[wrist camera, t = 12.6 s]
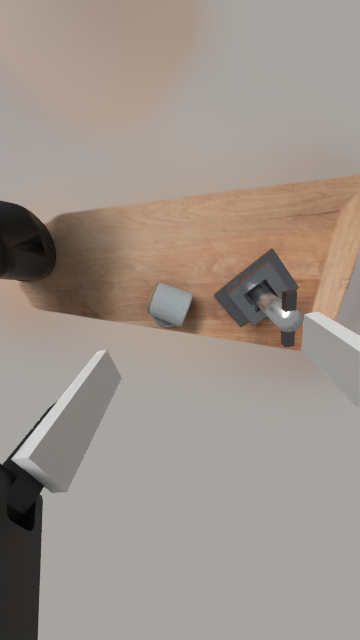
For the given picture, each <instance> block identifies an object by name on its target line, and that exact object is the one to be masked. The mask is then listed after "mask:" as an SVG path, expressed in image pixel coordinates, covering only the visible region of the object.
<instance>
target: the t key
mask: <svg viewBox="0 0 360 640" xmlns="http://www.w3.org/2000/svg"><path fill="white" fill-rule="evenodd" d="M247 295H248V297H249V298H250V299H251V300H252V301H253V302H254V303H255V304H256V305H257V306H258V307H259V308H260V309H261V310H262V311H263V312H264V313H265V314H266V315H267V316H268V317H269V318H270V320H271V321H272V322H273V323H274V324H275V325H276V326H277V327H278V328H279V329H280V330H281V343H282V344H283V346H284V347H290V346H294V335H295V330H297V329H298V328H299V327H300V326H301V325H302V323H303V320H304V318H303V315H302V314H301V313H300V312H299V311H297V310H296V301H297V292H296V291H294V290H287V291H282V300H281V299H280V298H278V297H277V296H275V295H274V294H272V293H271V292H269V291H268V290H266V289H265V288H263V287H262V286H260V285H259V284H258V285H257V286H255V287H254V288H252V289H251V290H250V291H248V292H247Z"/></svg>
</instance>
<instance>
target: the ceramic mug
mask: <svg viewBox="0 0 360 640" xmlns="http://www.w3.org/2000/svg"><path fill="white" fill-rule="evenodd" d="M192 297H193V294H192V293H190V292H187V291H184V290H181V289H178V288H175V287H172V286H170V285H167V284H163V283H158V284H156V285H155V286H154V288H153V290H152V292H151V295H150V298H149V301H148V305H147V311H148V313H149V314H151V315H152V316H153V318H154V320H155V321H156V322H157V323H158V324H160V325H161V326H164V327H173V326H175V325H176V326H178V327H181V326H182V324H183V322H184V319H185V317H186V314H187V312H188V309H189V307H190V304H191V301H192Z"/></svg>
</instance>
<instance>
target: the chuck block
mask: <svg viewBox="0 0 360 640" xmlns="http://www.w3.org/2000/svg"><path fill="white" fill-rule="evenodd" d="M258 284H259V285H260V286H262V287H263V288H265V289H266V290H268V291H269V292H271V293H272V294H274V295H275V296H277V297H278V298H280V299H281V300H282V291H287V290H296V289H297V288H299V287H298V286H297V284H296V283H295V281H294V280H293V278H292V277H291V275H290V274H289V272H288V271H287V269H286V268H285V266H284V265H283V263H282V262H281V260H280V259H279V257H278V256H277V254H276V253H275V251H274V250H273V249H270V250H269V251H268V252H266V253H265V254H264V255H263V256H261V257H260V258H259V259H258V260H256V261H255V262H254V263H253V264H251V265H250V266H249V267H248V268H246V269H245V270H244V271H243V272H241V273H240V274H239V275H238V276H236V277H235V278H234V279H233V280H231V281H230V282H229V283H228V284H226V285H225V286H224V287H223V288H221V289H220V290H219V291H218V292H216V293H215V294H214V296H215V297H216V298H217V299H218V300H219V302H220V303H221V304H222V305H223V306H224V307H225V309H226V310H227V311H228V312H229V313H230V314H231V316H232V317H233V318H234V319H235V320H236V321H237V323H238V324H239V325H240V326H242V325H244V324H245V323H247V322H248V321H250V322H251V323H252V324H253V325H255V324H257V323H258V322H260V321H261V320H263V319H264V318H266V317H267V315H266V314H265V313H264V312H263V311H262V310H261V309H260V308H259V307H258V306H257V305H256V304H255V303H254V302H253V301H252V300H251V299H250V298H249V297H248V295H247V292H248V291H250V290H251V289H252V288H254V287H255V286H257V285H258Z"/></svg>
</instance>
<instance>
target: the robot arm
mask: <svg viewBox="0 0 360 640" xmlns="http://www.w3.org/2000/svg"><path fill="white" fill-rule="evenodd" d="M55 259H56V254H55V247H54V243H53V241H52V238H51V236H50V234H49V232H48V230H47V229H46V227H45V226H44V224H43V223H42V222H41V221H40V220H39V219H38V218H37V217H36V216H35V215H34V214H33V213H32V212H30V211H29V210H27V209H26V208H24V207H22V206H20V205H17V204H14V203H9V202H4V201H0V279H9V280H18V281H34V280H38V279H42V278H44V277H46V276H47V275H49V274H50V272H51V271H52V269H53V267H54V265H55ZM301 351H302V352H303V353H304V354H305V355H306V356H307V357H308V358H309V359H310V360H311V361H312V362H313V363H314V364H315V365H316V366H317V367H318V368H319V369H320V370H321V371H322V372H323V373H324V374H325V375H326V376H327V377H328V378H329V379H330V380H331V382H332V383H334V385H336V387H337V388H338V389H339V390H340V391H341V392H342V393H343V394H344V395H345V396H346V397H347V398H348V399H349V400H350V401H351V402H352V403H353V404H354V405H355V406H356V407H357V408H358V409H359V410H360V336H359V335H357V334H355V333H354V332H352V331H350V330H349V329H347V328H345V327H343V326H342V325H340V324H338V323H337V322H335V321H333V320H331V319H330V318H328V317H326V316H325V315H323V314H321V313H319V312H314V313H308V314H304V325H303V337H302V349H301ZM120 380H121V376H120V374H119V372H118V370H117V368H116V366H115V364H114V362H113V360H112V358H111V356H110V354H109V353H108V351H107V350H103V351H97V353H96V354H95V355H94V356H93V358H92V359H91V360H90V362H89V363H88V364H87V365H86V366H85V368H84V369H83V370H82V371H81V373H80V374H79V375H78V376H77V378H76V379H75V380H74V381H73V383H72V384H71V385H70V386H69V388H68V389H67V390H66V391H65V393H64V394H63V395H62V396H61V398H60V399H59V400H58V401H57V402H56V403H55V404H53V405H52V406H51V407H50V408H49V409H48V410H47V411H46V412H45V414H44V415H43V416H42V417H41V418H40V421H38V422H37V423H36V424H35V426H34V427H33V429H31V431H30V432H29V433H28V434H27V435H26V437H25V438H24V439H23V441H22V442H21V443H20V444H19V445H18V446H17V448H16V449H15V450H14V451H13V453H12V454H11V455H10V456H9V457H8V459H7V460H6V461H5V462H4V463H3V465H1V464H0V640H37V639H38V638H37V636H38V612H39V585H40V558H41V533H42V505H43V500H42V496H41V495H40V492H41V490H42V489H43V487H45V488H47V489H48V490H49V491H50V492H52V493H56V492H67V491H68V489H69V487H70V484H71V482H72V480H73V478H74V476H75V474H76V472H77V470H78V468H79V466H80V464H81V461H82V459H83V457H84V455H85V453H86V451H87V449H88V447H89V445H90V443H91V441H92V439H93V436H94V434H95V432H96V430H97V428H98V426H99V424H100V422H101V420H102V418H103V415H104V414H105V411H106V409H107V407H108V405H109V403H110V401H111V399H112V397H113V395H114V393H115V391H116V389H117V386H118V384H119V382H120Z"/></svg>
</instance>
